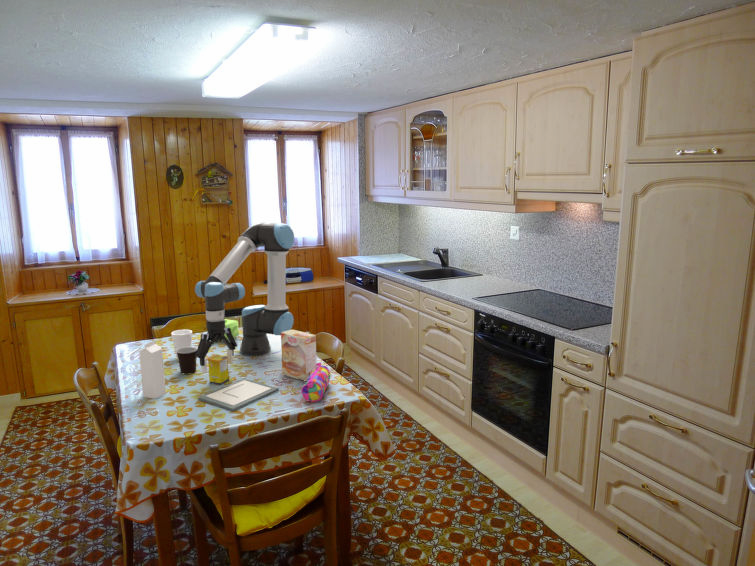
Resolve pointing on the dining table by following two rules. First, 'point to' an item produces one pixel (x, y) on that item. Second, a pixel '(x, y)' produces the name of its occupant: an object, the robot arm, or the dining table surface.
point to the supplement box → (218, 369)
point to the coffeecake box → (298, 353)
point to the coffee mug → (187, 359)
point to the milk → (152, 371)
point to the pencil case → (316, 383)
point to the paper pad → (238, 394)
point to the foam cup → (181, 339)
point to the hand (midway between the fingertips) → (217, 368)
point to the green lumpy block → (232, 327)
